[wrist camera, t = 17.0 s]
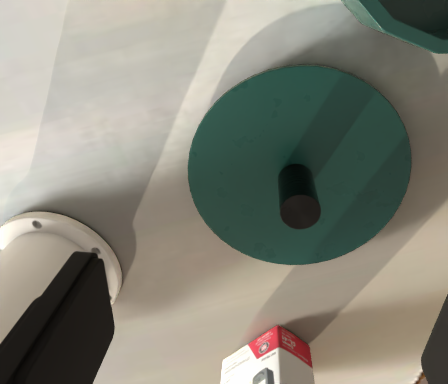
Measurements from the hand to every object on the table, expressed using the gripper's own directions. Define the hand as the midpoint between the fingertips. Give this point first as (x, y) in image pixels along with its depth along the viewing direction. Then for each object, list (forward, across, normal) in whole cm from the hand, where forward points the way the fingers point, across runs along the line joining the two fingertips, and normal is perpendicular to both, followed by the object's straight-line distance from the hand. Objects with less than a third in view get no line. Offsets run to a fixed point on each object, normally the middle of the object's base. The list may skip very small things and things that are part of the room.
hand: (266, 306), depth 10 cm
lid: (+18, -3, +5) cm, 19 cm away
